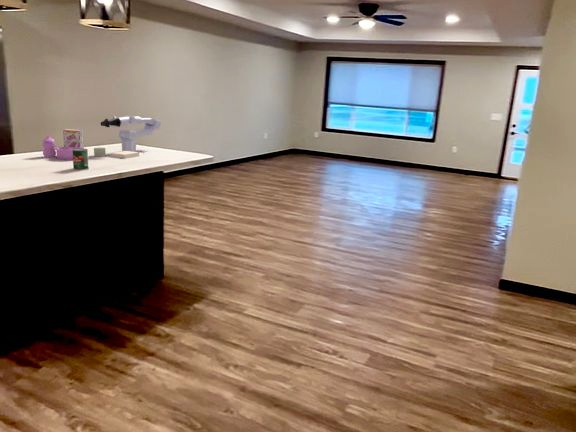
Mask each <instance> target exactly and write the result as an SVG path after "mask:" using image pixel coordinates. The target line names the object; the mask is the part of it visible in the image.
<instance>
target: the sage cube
mask: <svg viewBox="0 0 576 432" xmlns="http://www.w3.org/2000/svg"><path fill="white" fill-rule="evenodd" d="M106 153H107V152H106V148H105V147H94V148H93V156H94V157H95V156H96V157H105V156H106Z"/></svg>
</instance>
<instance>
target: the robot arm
mask: <svg viewBox="0 0 576 432" xmlns="http://www.w3.org/2000/svg"><path fill="white" fill-rule="evenodd" d="M141 124H144V128H139V129H137V128H136V129H129V130H127V129H119V132H118V137H119V138H120V140H121V151H132V152H138V151H137V143H136V140H135V139H136V138H137V137H143V136H149V135H152V134H154V133H155V132H156V131H157V130H158V131H159V130H160V127H161V121H160V120H159V119H156V118H151V117H141V116H139V115H137V114H136V115H124V116H120V117H116V116H115V115H114V116H112V118H111V119H109V118H105V119H104V120H103V121H101V122H100V126H101V127H105V128H110V127H114V128H120V127H124V126H127V125H133V126H134V125H141Z"/></svg>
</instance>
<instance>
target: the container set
mask: <svg viewBox="0 0 576 432" xmlns="http://www.w3.org/2000/svg"><path fill="white" fill-rule="evenodd" d="M42 142H43V143H42V147H43V148H44V149H43V151H42V154H43V156H44V157H45V158H54V157H56V159H57V160H59V159H60V161H73V150H72V149H77V148H81V147H64V146H59V147H56V143H55V139H54V138H52V137H51V135H46V137H45V138H43V139H42ZM55 148H56V149H55Z"/></svg>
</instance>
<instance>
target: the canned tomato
mask: <svg viewBox="0 0 576 432" xmlns="http://www.w3.org/2000/svg"><path fill="white" fill-rule="evenodd" d="M72 150H73V160H72V163H73V164H72V165H73V170H75V171H76V170H77V171H84V170H89V149H88V148H84V149H83V148H77V149H72Z"/></svg>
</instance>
